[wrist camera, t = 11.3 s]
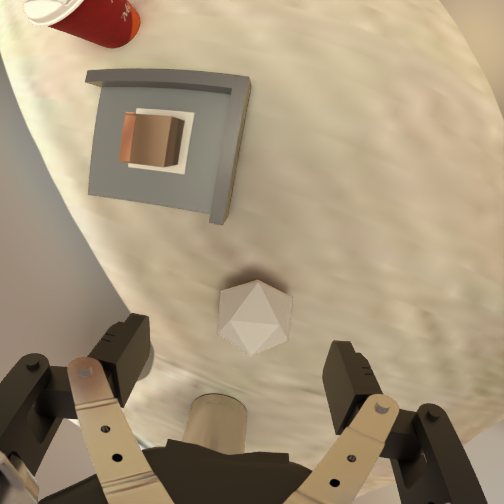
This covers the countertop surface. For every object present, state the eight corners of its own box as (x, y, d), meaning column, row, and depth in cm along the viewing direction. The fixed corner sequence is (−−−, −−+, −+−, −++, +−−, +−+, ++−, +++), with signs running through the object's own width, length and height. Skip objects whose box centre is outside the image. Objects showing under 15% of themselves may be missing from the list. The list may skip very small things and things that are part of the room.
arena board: (228, 215, 35) (222, 225, 31) (90, 193, 35) (70, 200, 30) (251, 86, 30) (249, 76, 26) (106, 77, 30) (87, 70, 25)
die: (210, 279, 38) (198, 353, 33) (253, 251, 33) (245, 339, 27) (260, 300, 42) (255, 368, 37) (307, 279, 36) (306, 357, 31)
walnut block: (184, 120, 31) (171, 116, 26) (177, 164, 33) (163, 167, 28) (143, 117, 31) (124, 113, 26) (136, 159, 32) (117, 162, 28)
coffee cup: (162, 16, 27) (109, -42, 13) (118, 67, 29) (44, 35, 15) (120, -6, 26) (62, -56, 12) (80, 41, 28) (7, 10, 14)
